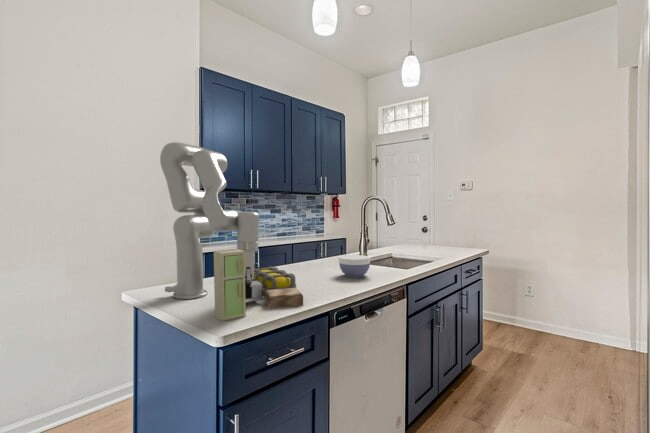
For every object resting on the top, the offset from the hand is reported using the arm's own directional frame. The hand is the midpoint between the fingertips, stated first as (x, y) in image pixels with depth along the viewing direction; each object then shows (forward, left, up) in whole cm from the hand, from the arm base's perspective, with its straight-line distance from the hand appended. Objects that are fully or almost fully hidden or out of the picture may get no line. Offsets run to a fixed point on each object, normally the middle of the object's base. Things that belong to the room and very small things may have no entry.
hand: (246, 294), depth 125 cm
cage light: (+12, +18, -4) cm, 22 cm away
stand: (+13, -4, -3) cm, 14 cm away
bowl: (+56, +33, -3) cm, 65 cm away
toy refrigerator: (-6, -14, -3) cm, 16 cm away
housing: (0, 0, -1) cm, 1 cm away
